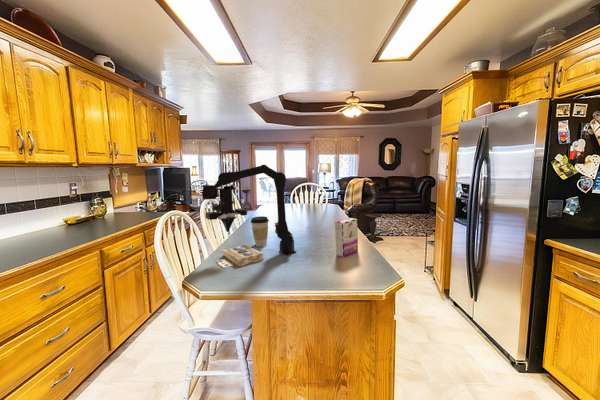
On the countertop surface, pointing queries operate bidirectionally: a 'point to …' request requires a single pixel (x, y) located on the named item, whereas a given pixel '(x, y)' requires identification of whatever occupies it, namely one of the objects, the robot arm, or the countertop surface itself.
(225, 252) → the button board
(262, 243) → the coffee cup
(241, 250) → the button middle
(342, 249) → the candy bar box
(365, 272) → the countertop surface
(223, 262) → the card
